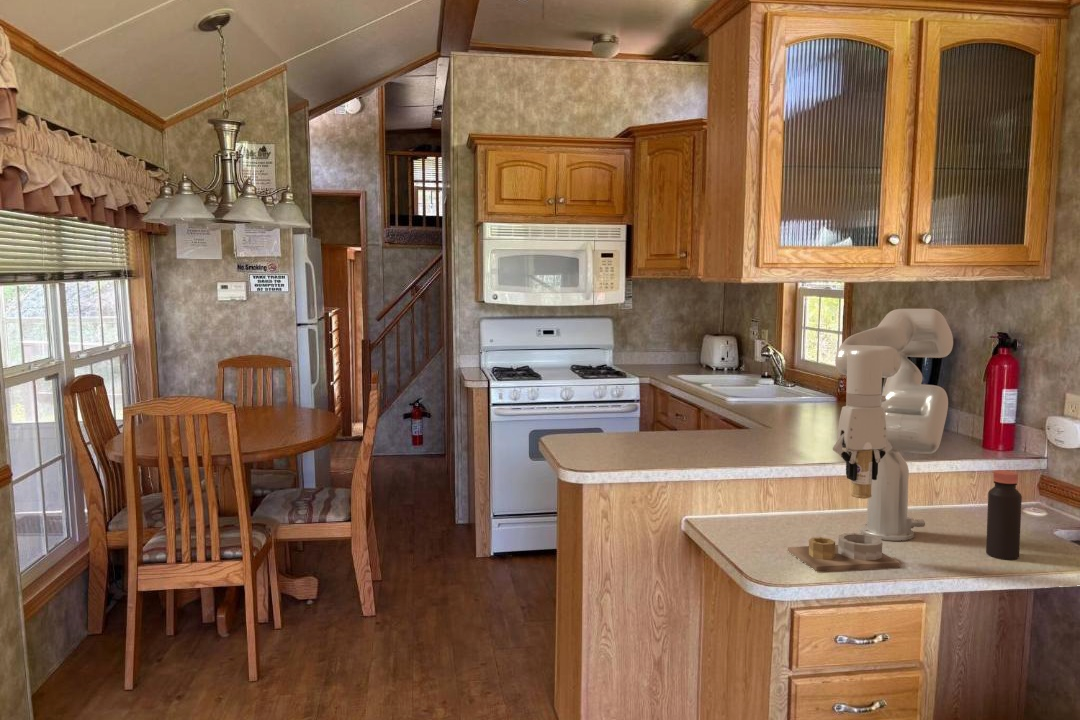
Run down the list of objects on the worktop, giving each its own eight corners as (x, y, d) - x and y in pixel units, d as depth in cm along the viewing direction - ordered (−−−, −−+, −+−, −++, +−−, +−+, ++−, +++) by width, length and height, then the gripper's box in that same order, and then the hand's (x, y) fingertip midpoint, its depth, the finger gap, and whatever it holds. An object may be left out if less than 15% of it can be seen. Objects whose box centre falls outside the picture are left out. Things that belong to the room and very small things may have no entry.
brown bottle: (980, 551, 185) (983, 469, 184) (1008, 551, 185) (1011, 469, 184) (995, 560, 178) (999, 475, 177) (1025, 560, 178) (1029, 475, 177)
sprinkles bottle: (848, 497, 179) (849, 440, 178) (854, 493, 182) (855, 437, 181) (868, 500, 176) (869, 442, 175) (874, 496, 179) (876, 439, 178)
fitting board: (864, 548, 188) (865, 529, 187) (899, 567, 174) (899, 547, 174) (787, 552, 185) (787, 532, 185) (816, 571, 171) (816, 551, 171)
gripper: (887, 398, 182) (885, 474, 184) (821, 400, 180) (819, 476, 181) (907, 402, 175) (904, 481, 176) (837, 404, 173) (836, 484, 174)
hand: (861, 478), depth 179 cm, fingers closed on sprinkles bottle, 4 cm apart
